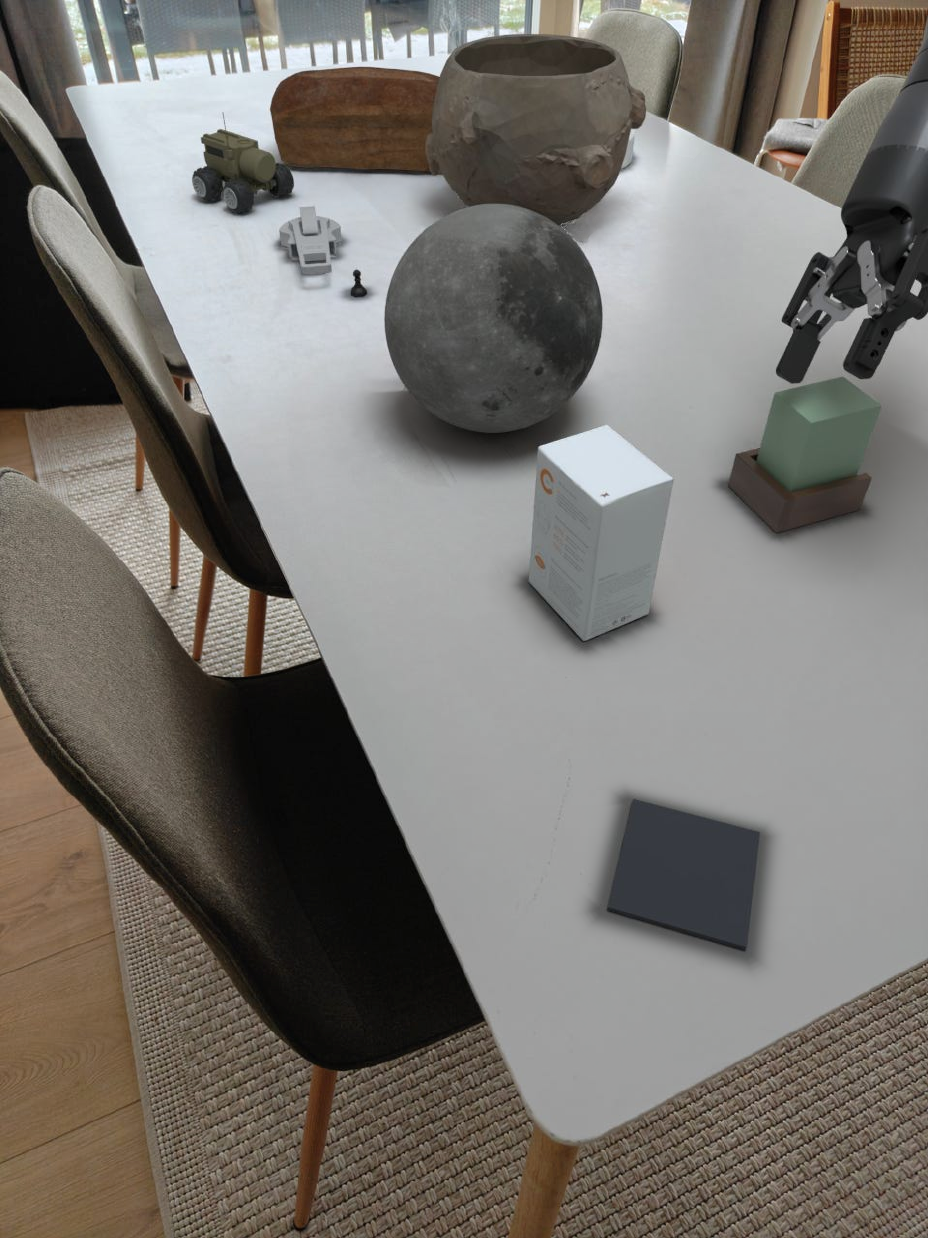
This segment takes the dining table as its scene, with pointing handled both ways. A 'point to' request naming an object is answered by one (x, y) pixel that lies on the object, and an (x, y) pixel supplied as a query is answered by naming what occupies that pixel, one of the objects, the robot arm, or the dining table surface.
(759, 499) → the u-shaped bracket
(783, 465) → the green rectangular block
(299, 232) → the zipper pull
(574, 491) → the small box
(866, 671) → the dining table surface
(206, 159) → the toy vehicle
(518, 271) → the decorative sphere
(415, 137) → the bread
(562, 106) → the bowl
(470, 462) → the dining table surface
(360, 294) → the chess pawn
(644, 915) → the rubber mat
